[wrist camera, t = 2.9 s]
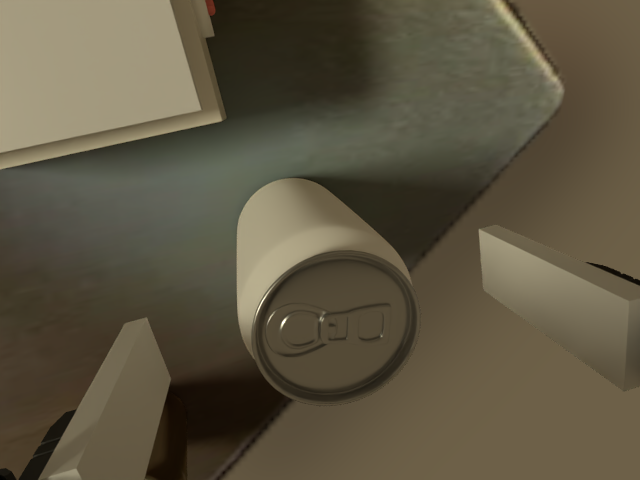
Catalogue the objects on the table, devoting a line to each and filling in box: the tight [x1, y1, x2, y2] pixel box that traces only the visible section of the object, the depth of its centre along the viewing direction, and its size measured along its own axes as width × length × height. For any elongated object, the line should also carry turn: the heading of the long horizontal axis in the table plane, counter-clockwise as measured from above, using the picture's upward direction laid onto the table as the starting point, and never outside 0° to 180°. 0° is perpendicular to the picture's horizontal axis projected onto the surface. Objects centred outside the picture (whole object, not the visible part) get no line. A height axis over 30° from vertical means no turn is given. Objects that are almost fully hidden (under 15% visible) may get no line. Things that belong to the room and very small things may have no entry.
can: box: [237, 178, 421, 406], centre depth 19 cm, size 6×6×12 cm
